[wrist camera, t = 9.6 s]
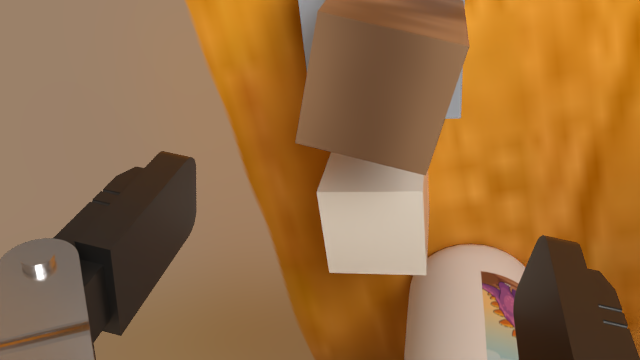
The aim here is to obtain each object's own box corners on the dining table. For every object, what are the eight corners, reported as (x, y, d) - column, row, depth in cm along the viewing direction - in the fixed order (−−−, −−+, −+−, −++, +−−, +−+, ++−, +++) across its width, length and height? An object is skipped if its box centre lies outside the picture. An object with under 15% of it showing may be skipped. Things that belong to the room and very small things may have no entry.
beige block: (426, 132, 30) (422, 191, 25) (429, 208, 32) (426, 275, 27) (337, 135, 31) (316, 192, 26) (346, 208, 33) (329, 272, 28)
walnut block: (463, 0, 22) (469, 46, 17) (429, 109, 25) (426, 175, 20) (345, -27, 23) (317, 10, 18) (324, 83, 25) (295, 142, 20)
